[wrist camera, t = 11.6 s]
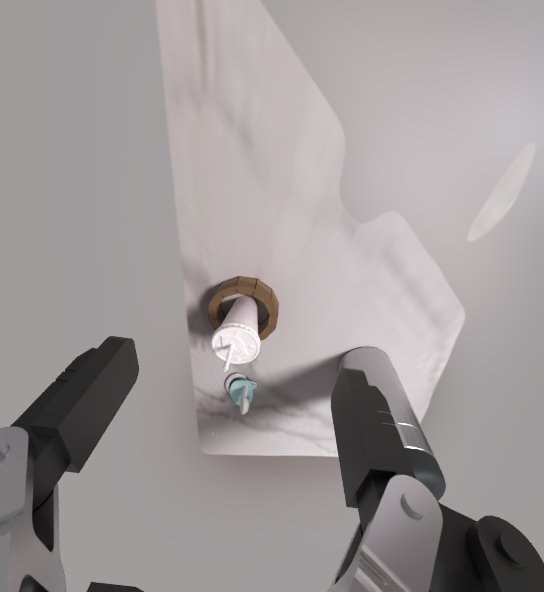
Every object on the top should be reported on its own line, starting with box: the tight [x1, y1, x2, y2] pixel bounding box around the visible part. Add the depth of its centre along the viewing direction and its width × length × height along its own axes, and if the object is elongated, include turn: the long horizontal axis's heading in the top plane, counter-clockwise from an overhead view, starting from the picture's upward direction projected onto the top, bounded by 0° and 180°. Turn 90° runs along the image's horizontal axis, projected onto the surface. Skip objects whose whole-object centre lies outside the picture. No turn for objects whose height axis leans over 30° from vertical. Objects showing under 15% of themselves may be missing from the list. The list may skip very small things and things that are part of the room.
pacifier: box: [225, 373, 257, 415], centre depth 50 cm, size 7×6×6 cm
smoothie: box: [211, 296, 261, 372], centre depth 37 cm, size 6×6×14 cm
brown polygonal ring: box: [208, 276, 279, 341], centre depth 41 cm, size 10×10×3 cm
